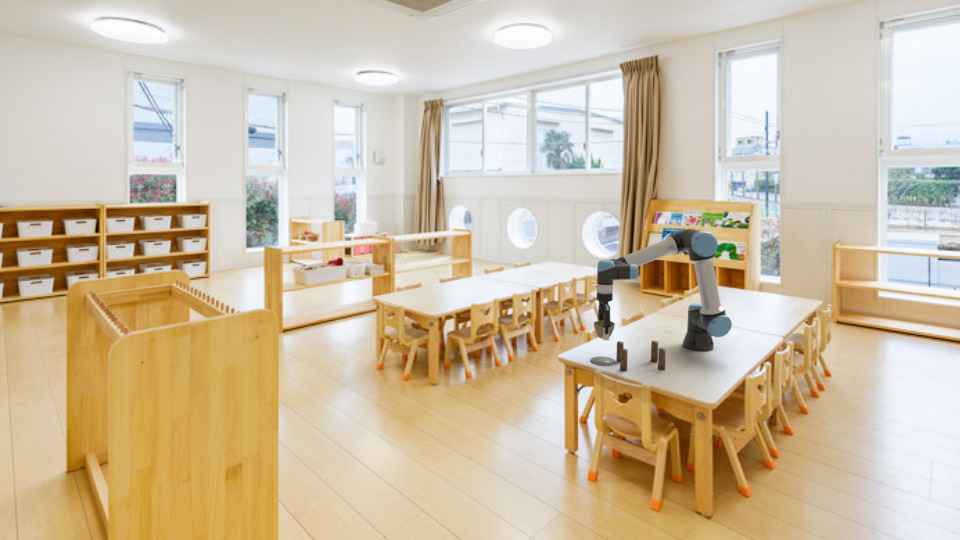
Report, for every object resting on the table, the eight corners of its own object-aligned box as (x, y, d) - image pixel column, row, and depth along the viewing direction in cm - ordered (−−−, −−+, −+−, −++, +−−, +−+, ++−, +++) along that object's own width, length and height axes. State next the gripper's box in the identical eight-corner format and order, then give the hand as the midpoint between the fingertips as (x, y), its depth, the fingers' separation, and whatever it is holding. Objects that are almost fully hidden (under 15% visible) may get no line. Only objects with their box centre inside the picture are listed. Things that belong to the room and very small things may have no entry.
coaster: (612, 357, 263) (612, 356, 263) (618, 365, 252) (618, 364, 252) (588, 357, 264) (588, 356, 264) (593, 365, 252) (593, 365, 252)
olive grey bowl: (599, 333, 262) (599, 319, 261) (617, 336, 256) (618, 322, 255) (589, 338, 255) (590, 323, 254) (608, 341, 249) (609, 327, 247)
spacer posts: (656, 359, 258) (657, 340, 257) (666, 370, 244) (667, 350, 242) (613, 360, 259) (613, 341, 257) (620, 371, 244) (621, 350, 242)
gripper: (592, 287, 263) (591, 330, 267) (602, 297, 241) (600, 344, 244) (607, 287, 263) (606, 330, 266) (618, 297, 240) (616, 343, 244)
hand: (603, 336), depth 255 cm, fingers closed on olive grey bowl, 10 cm apart
